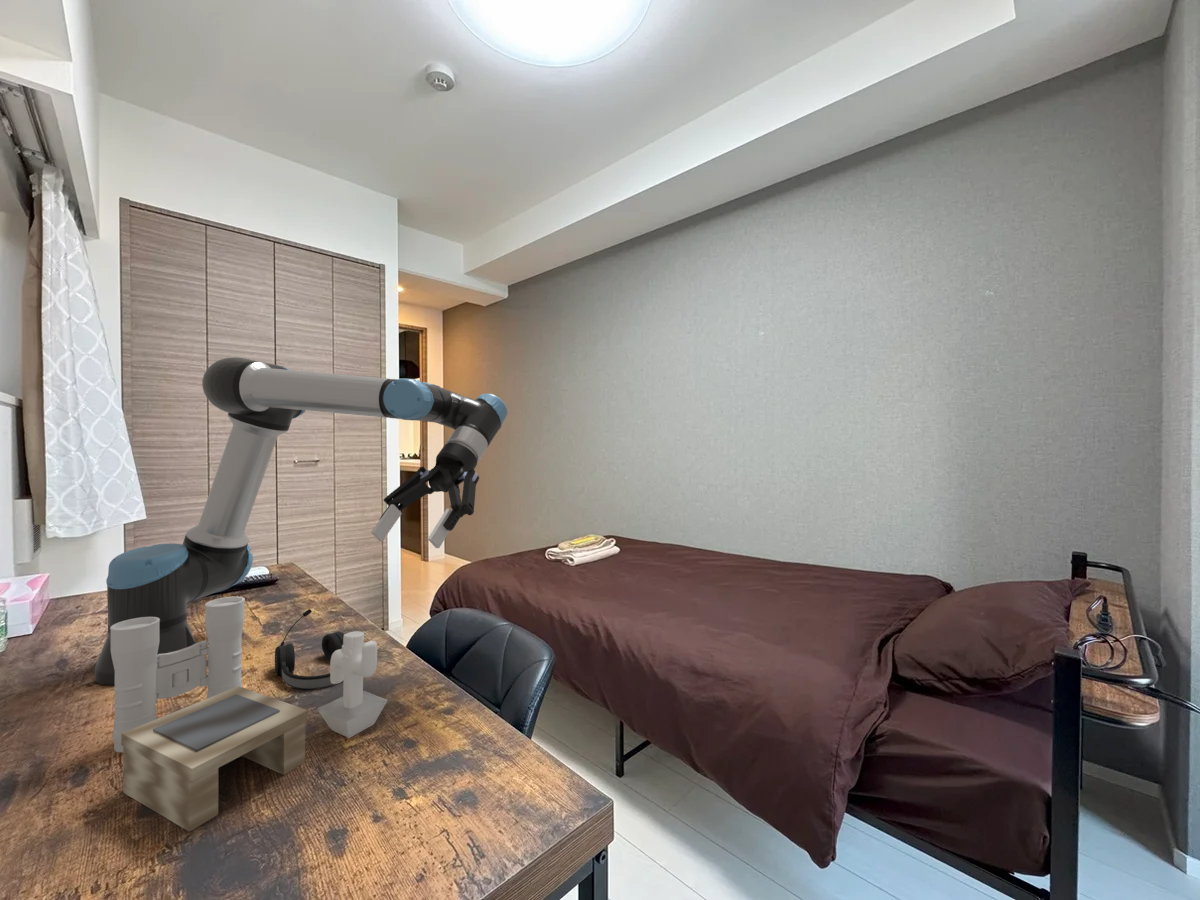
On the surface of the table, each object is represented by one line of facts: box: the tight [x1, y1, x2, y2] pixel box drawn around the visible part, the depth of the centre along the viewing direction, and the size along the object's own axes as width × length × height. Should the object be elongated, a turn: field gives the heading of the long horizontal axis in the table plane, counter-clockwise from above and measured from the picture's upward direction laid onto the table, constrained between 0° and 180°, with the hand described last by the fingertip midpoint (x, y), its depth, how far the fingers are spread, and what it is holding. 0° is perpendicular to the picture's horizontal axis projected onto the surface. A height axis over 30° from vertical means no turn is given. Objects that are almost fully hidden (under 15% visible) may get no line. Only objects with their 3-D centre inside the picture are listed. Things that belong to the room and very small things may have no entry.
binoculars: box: [110, 596, 246, 753], centre depth 80 cm, size 17×5×18 cm, turn 152°
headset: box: [274, 608, 345, 691], centre depth 99 cm, size 13×9×19 cm
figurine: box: [316, 630, 388, 739], centre depth 79 cm, size 7×9×15 cm
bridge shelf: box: [121, 686, 309, 833], centre depth 67 cm, size 16×14×8 cm
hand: (403, 540), depth 88 cm, fingers open, 13 cm apart
